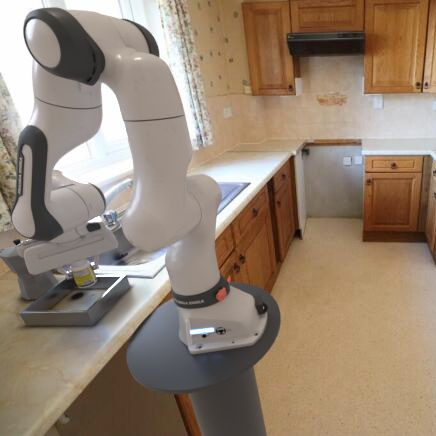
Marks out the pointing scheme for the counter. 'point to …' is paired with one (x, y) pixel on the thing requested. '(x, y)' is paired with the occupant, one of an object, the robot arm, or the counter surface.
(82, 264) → the supplement bottle
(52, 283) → the coffeepot
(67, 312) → the shallow rectangular grey tray
